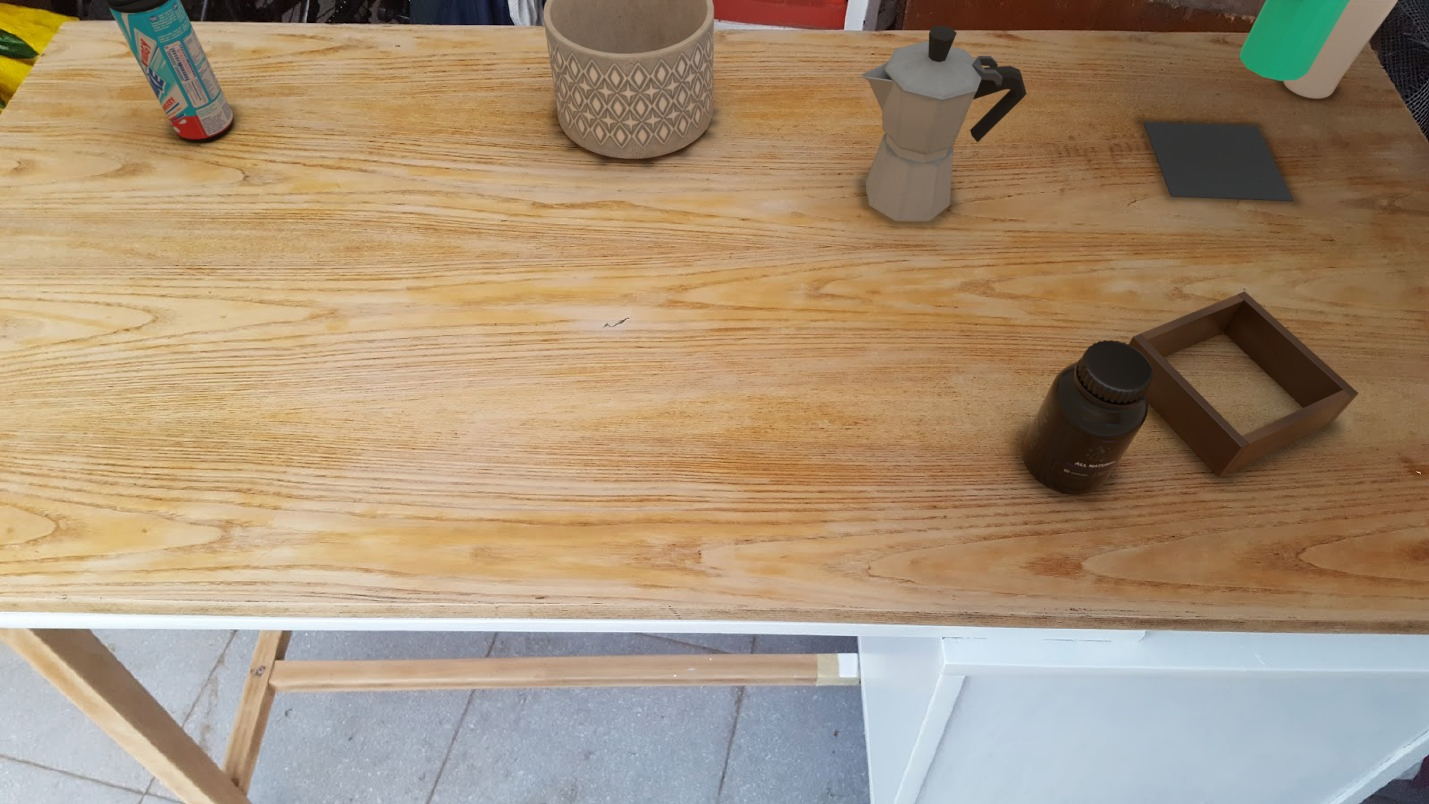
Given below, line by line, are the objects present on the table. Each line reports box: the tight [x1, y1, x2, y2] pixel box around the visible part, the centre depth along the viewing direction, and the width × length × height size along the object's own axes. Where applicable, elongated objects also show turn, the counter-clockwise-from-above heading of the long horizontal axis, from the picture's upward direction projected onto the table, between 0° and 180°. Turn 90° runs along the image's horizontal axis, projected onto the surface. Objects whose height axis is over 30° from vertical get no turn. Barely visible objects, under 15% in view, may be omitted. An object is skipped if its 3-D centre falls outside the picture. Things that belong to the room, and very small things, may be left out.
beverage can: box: [105, 0, 234, 143], centre depth 94 cm, size 6×6×15 cm
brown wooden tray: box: [1128, 291, 1359, 478], centre depth 77 cm, size 12×12×5 cm
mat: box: [1143, 121, 1295, 202], centre depth 97 cm, size 12×12×1 cm
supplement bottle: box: [1021, 339, 1153, 496], centre depth 70 cm, size 7×7×12 cm
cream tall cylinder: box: [1282, 0, 1399, 100], centre depth 100 cm, size 7×7×15 cm
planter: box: [542, 0, 715, 160], centre depth 96 cm, size 16×16×13 cm
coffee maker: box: [860, 24, 1027, 222], centre depth 87 cm, size 15×9×18 cm, turn 91°
